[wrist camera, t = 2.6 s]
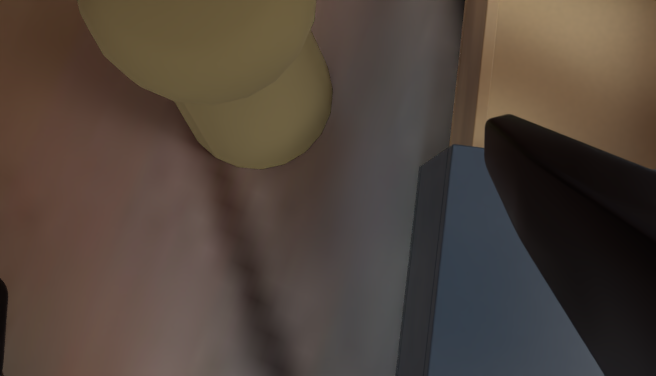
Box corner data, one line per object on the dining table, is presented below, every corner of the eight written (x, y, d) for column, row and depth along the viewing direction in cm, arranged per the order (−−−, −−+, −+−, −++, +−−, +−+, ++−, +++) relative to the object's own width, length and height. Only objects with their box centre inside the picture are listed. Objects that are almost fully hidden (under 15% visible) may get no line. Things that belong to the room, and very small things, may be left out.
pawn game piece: (268, -9, 21) (204, -265, 10) (363, 104, 21) (403, -37, 10) (151, 84, 21) (-45, -77, 10) (246, 200, 20) (151, 167, 10)
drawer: (457, -157, 21) (498, -281, 16) (739, -123, 21) (870, -236, 16) (412, 234, 20) (441, 236, 15) (712, 272, 20) (846, 288, 15)
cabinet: (419, 166, 21) (452, 143, 15) (712, 203, 20) (852, 194, 15) (381, 496, 20) (402, 599, 14) (689, 537, 20) (831, 657, 14)
